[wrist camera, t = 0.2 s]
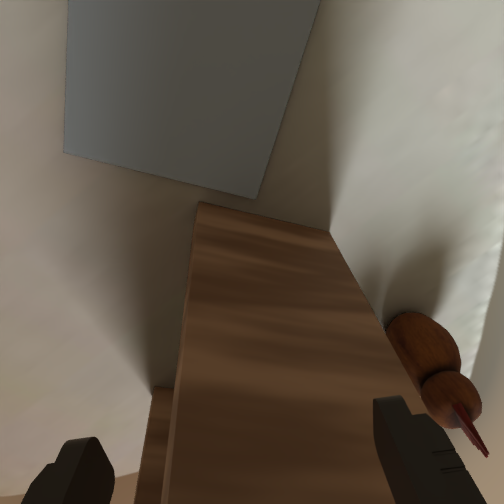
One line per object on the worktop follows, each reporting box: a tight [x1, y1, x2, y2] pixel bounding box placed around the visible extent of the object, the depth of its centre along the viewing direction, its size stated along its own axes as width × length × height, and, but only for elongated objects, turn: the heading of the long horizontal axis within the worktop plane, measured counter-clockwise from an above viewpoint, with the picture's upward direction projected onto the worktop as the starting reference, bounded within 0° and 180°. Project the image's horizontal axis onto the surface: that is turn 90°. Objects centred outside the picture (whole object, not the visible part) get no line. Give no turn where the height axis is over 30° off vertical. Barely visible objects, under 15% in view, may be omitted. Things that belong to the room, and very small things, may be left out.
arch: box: [133, 202, 432, 504], centre depth 27 cm, size 26×12×26 cm, turn 163°
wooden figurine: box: [386, 312, 489, 458], centre depth 34 cm, size 7×6×15 cm
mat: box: [64, 0, 321, 200], centre depth 25 cm, size 15×15×1 cm
